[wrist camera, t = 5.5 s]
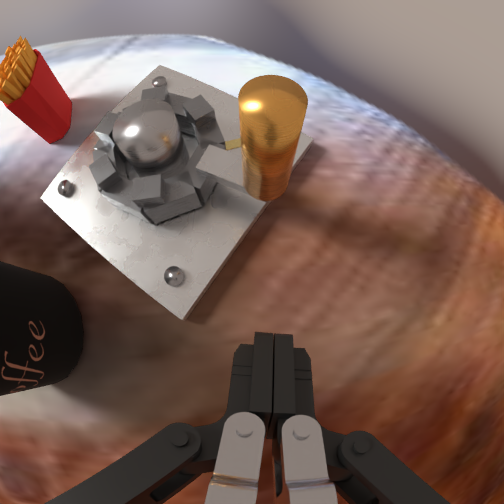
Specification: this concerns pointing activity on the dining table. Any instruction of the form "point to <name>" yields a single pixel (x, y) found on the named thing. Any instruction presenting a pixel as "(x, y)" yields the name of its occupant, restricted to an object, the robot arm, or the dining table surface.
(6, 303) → the coffee jar
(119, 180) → the spiky gray ring
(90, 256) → the dining table surface
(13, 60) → the french fries
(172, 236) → the flange plate
